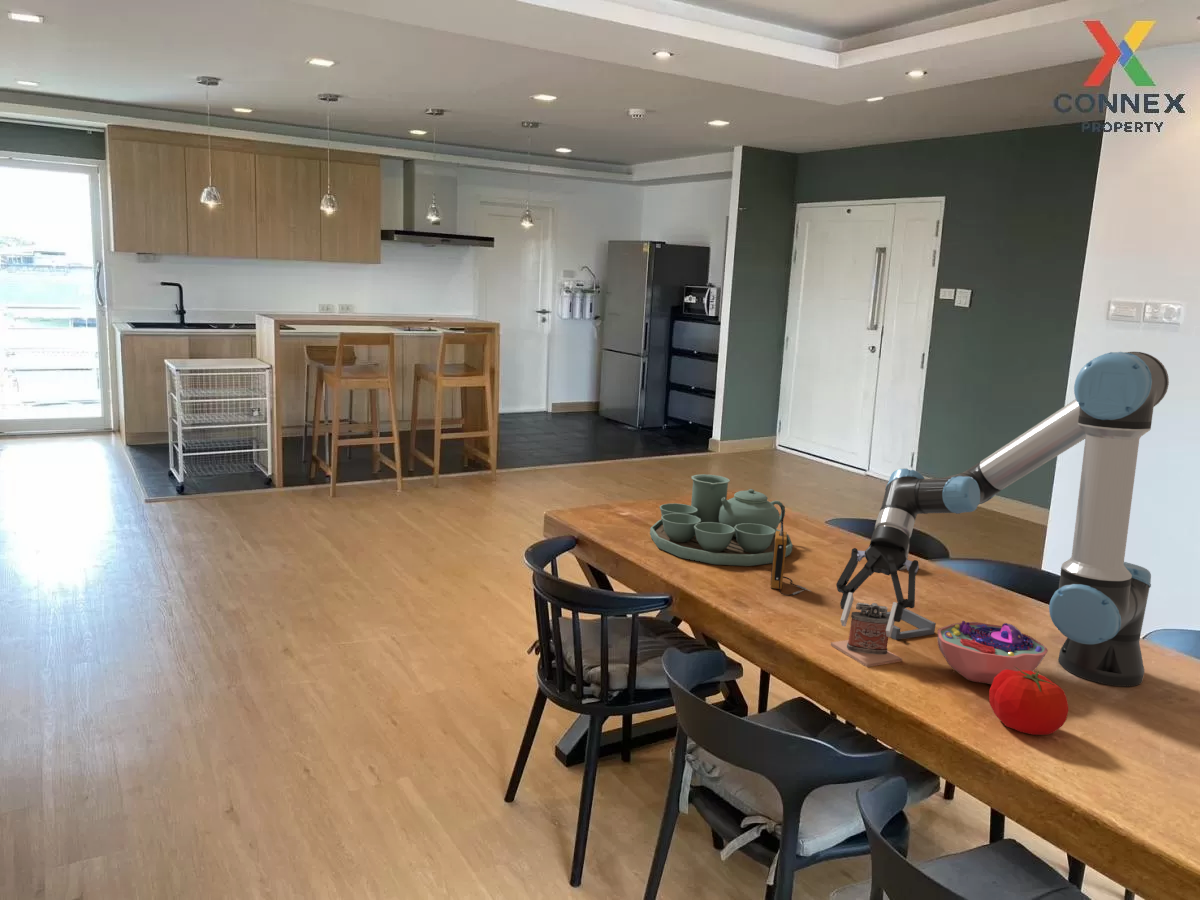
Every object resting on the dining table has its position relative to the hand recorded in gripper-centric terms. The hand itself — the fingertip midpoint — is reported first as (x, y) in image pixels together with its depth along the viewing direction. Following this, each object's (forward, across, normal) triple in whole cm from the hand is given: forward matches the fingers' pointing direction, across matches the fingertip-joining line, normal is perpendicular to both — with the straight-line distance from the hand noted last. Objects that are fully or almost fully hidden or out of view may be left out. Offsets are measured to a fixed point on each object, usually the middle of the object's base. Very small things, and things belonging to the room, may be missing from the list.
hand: (865, 628), depth 177 cm
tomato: (+13, -31, +4) cm, 34 cm away
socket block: (-11, -2, -20) cm, 23 cm away
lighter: (+2, 0, -7) cm, 7 cm away
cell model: (+1, -22, -9) cm, 24 cm away
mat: (+2, 0, -7) cm, 7 cm away
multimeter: (-19, +25, -28) cm, 42 cm away
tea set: (-34, +53, -44) cm, 77 cm away
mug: (-44, +9, -53) cm, 69 cm away
